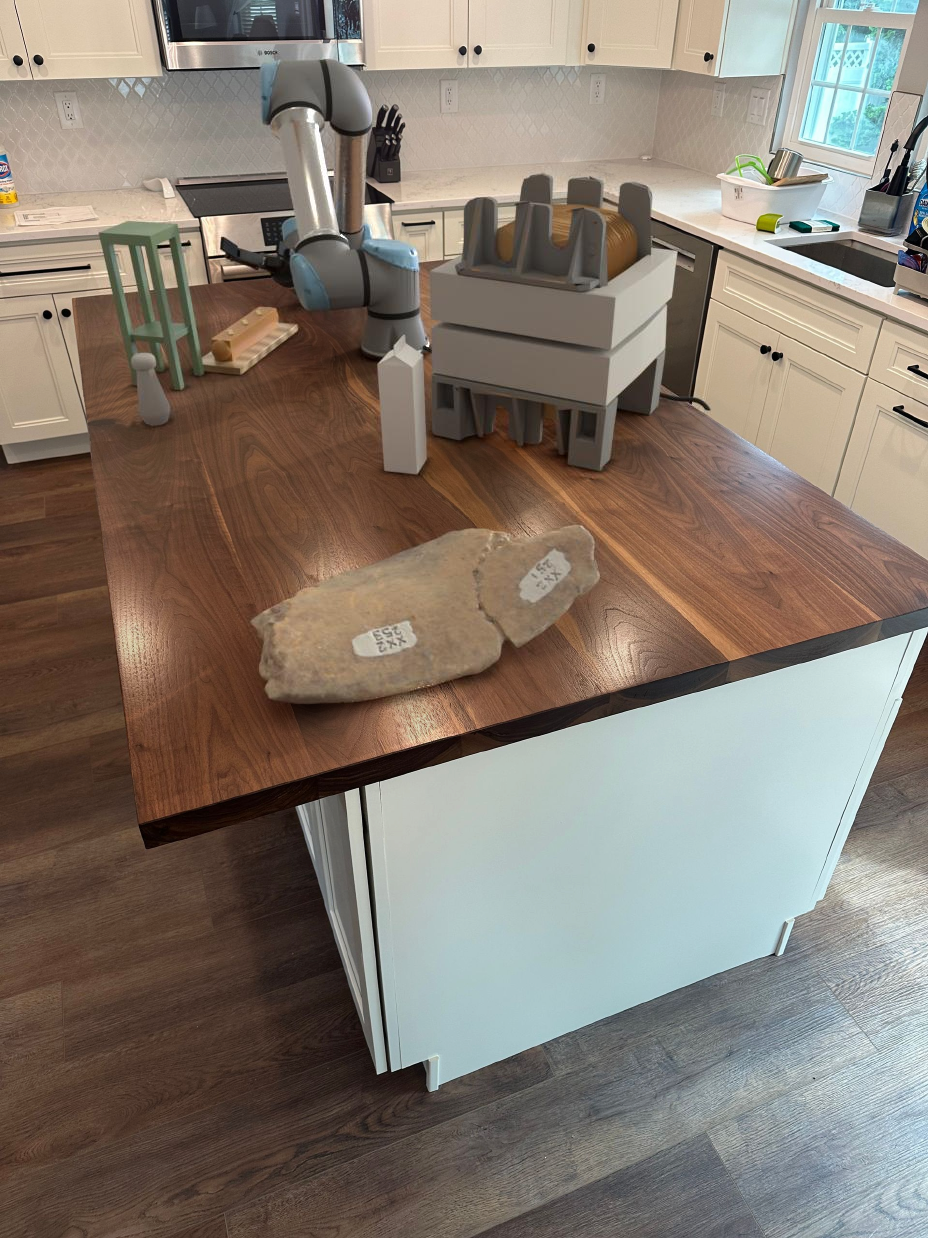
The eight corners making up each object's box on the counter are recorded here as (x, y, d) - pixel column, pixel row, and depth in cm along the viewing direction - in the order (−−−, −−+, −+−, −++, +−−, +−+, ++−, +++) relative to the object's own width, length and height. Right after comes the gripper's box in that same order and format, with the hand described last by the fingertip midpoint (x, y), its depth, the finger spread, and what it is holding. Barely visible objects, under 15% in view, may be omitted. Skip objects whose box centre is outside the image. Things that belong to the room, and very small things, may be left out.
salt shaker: (178, 418, 173) (165, 352, 166) (159, 429, 169) (144, 362, 161) (155, 413, 175) (140, 347, 168) (134, 424, 171) (118, 357, 163)
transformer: (661, 406, 177) (690, 178, 153) (600, 473, 153) (624, 217, 129) (506, 376, 190) (511, 163, 166) (428, 434, 166) (421, 196, 142)
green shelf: (180, 390, 185) (150, 235, 167) (133, 385, 187) (98, 232, 170) (204, 373, 193) (177, 223, 175) (158, 368, 195) (127, 220, 177)
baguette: (228, 364, 192) (224, 342, 190) (209, 362, 193) (205, 341, 191) (282, 323, 214) (280, 303, 212) (265, 322, 215) (263, 302, 213)
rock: (229, 622, 121) (285, 752, 102) (211, 558, 114) (268, 685, 96) (524, 530, 135) (621, 630, 116) (523, 468, 128) (627, 563, 109)
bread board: (240, 374, 192) (239, 368, 191) (194, 370, 194) (193, 363, 193) (298, 330, 215) (297, 324, 214) (256, 326, 217) (255, 320, 217)
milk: (384, 471, 155) (374, 344, 142) (394, 456, 159) (386, 332, 146) (418, 474, 153) (411, 347, 140) (427, 459, 158) (422, 334, 145)
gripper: (245, 253, 221) (200, 223, 200) (339, 259, 215) (303, 230, 195) (242, 284, 222) (197, 258, 201) (336, 291, 216) (299, 265, 196)
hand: (249, 244), depth 198 cm, fingers open, 13 cm apart
